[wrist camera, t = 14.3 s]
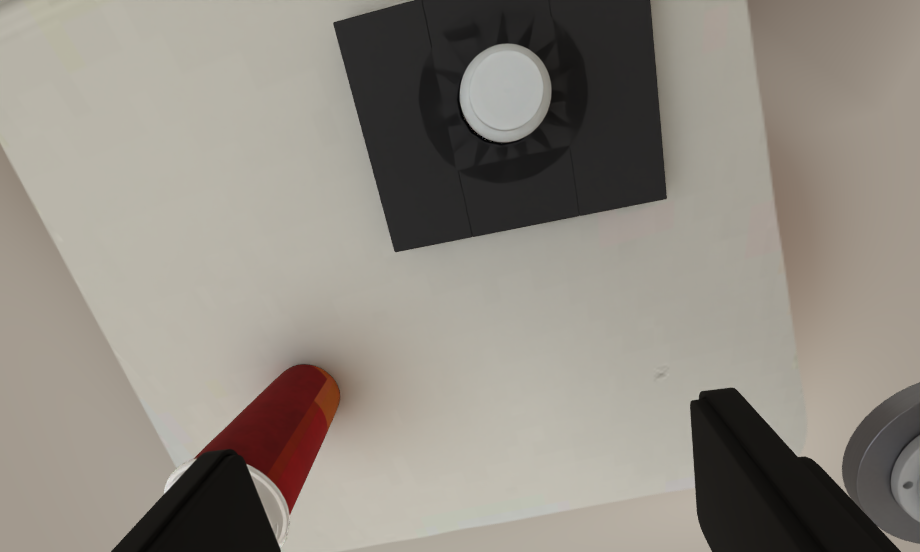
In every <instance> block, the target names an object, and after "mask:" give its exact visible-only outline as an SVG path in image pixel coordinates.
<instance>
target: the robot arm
mask: <svg viewBox="0 0 920 552" xmlns="http://www.w3.org/2000/svg"><path fill="white" fill-rule="evenodd" d="M690 411H691V427H692V442H693V458H694V473H695V489H696V504H697V515H698V520H699V523H700V527H701V529H702V532H703V534H704V536H705V538H706V540H707V542H708V544H709V546H710V548H711V550H712V552H901V551H900V550H899V549H898V548H897V547H896V546H895V545H894V544H893V543H892V542H891V541H890V540H889V539H888V538H887V536H886V535H885V534H884V533H883V532H882V531H881V530H880V529H879V528H878V527H877V526H876V525H875V524H874V523H873V522H872V520H871V519H870V518H869V517H868V516H867V515H866V514H865V513H864V512H863V511H862V510H861V509H860V508H859V507H858V506H857V505H856V504H855V503H854V501H853V500H852V499H851V498H850V497H849V496H848V495H847V494H846V493H845V492H844V491H843V490H842V489H841V488H840V487H839V486H838V485H837V484H836V483H835V481H834V480H833V479H832V478H831V477H830V476H829V475H828V474H827V473H826V472H825V471H824V470H823V469H822V468H821V467H820V466H819V465H818V464H817V463H816V462H815V461H813V460H812V459H810V458H808V457H797V456H796V455H795V454H794V452H793V451H792V450H791V449H790V448H789V447H788V446H787V445H786V444H785V443H784V441H783V440H782V439H781V438H780V437H779V436H778V435H777V434H776V433H775V431H774V430H773V429H772V428H771V427H770V426H769V425H768V424H767V423H766V422H765V420H764V419H763V418H762V417H761V416H760V415H759V414H758V413H757V412H756V410H755V409H754V408H753V407H752V406H751V405H750V404H749V403H748V402H747V401H746V399H745V398H744V397H743V396H742V395H741V394H740V393H739V392H738V391H737V390H736V389H735V388H725V389H717V390H708V391H702V392H700V395H699V400H692V401H691V404H690ZM891 489H892V493H893V495H894V498H895V500H896V501H897V503H898V504H899V505H900V507H901V508H902V509H903V510H904V511H906V512H907V513H908V514H909V515H910V516H911V517H912V518H913V519H915V520H917V521H918V522H920V435H918V436H917V437H916V438H915V439H913V440H912V441H911V442H910V443H909V444H908V445H907V446H906V447H905V449H904V450H903V451H902V452H901V454H900V455H899V457H898V459H897V460H896V462H895V465H894V468H893V470H892V475H891ZM111 552H281V550H280V547H279V544H278V542H277V539H276V537H275V534H274V532H273V529H272V527H271V524H270V522H269V519H268V517H267V514H266V512H265V509H264V507H263V504H262V502H261V499H260V497H259V494H258V492H257V489H256V487H255V484H254V482H253V480H252V477H251V475H250V472H249V470H248V467H247V465H246V462H245V460H244V458H243V457H242V456H241V455H238V454H237V452H236V451H234V450H233V449H224V450H216V451H208V452H205V453H203V454H201V455H200V456H199V457H198V458H197V459H196V460H195V461H194V462H193V463H192V465H191V466H190V467H189V468H188V469H187V470H186V471H185V472H184V473H183V474H182V475H181V476H180V478H179V479H178V480H177V481H176V482H175V483H174V484H173V485H172V486H171V487H170V488H169V489H168V491H167V492H166V493H165V494H164V495H163V496H162V497H161V498H160V499H159V500H158V502H156V504H155V505H154V506H153V507H152V508H151V509H150V510H149V511H148V512H147V513H146V514H145V515H144V517H143V518H142V519H141V520H140V521H139V522H138V523H137V524H136V526H134V528H132V530H131V531H130V532H129V533H128V534H127V535H126V536H125V537H124V538H123V539H122V540H121V542H120V543H119V544H118V545H117V546H116V547H115V548H114V549H113V550H112V551H111Z"/></svg>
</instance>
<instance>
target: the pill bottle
mask: <svg viewBox="0 0 920 552" xmlns="http://www.w3.org/2000/svg"><path fill="white" fill-rule="evenodd" d="M550 101H551V81H550V77H549V74H548V71H547V69H546V67H545V65H544V64H543V62H542V61H541V60H540V58H539V57H538V56H537V55H536V54H534V53H533V52H532V51H530V50H529V49H527V48H525V47H523V46H520V45H516V44H499V45H495V46H492V47H490V48H488V49H486V50H484V51H483V52H481V53H480V54H478V55H477V56H476V57H475V58H474V59H473V60H472V61H471V63H470V64H469V65H468V67H467V69H466V71H465V73H464V75H463V78H462V81H461V86H460V103H461V108H462V111H463V114H464V116H465V118H466V120H467V122H468V123H469V125H470V126H471V127H472V128H473V129H474V130H475V132H477V133H478V134H479V135H481V136H483V137H484V138H486V139H489V140H492V141H496V142H512V141H516V140H519V139H521V138H524V137H525V136H527V135H529V134H530V133H532V132H533V131H534V130H535V129H536V128H537V127H538V126H539V125H540V123H541V122H542V121H543V119H544V117H545V116H546V114H547V111H548V108H549V105H550Z"/></svg>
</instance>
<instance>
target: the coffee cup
mask: <svg viewBox="0 0 920 552" xmlns="http://www.w3.org/2000/svg"><path fill="white" fill-rule="evenodd" d="M339 400H340V392H339V388H338V386H337V384H336V382H335V380H334V379H333V378H332V377H331V376H330V375H329V374H328V373H327V372H326V371H324V370H323V369H321V368H319V367H316V366H312V365H305V364H304V365H296V366H293V367H291V368H289V369H287V370H286V371H284V372H283V373H282V374H281V375H280V376H279V377H278V378H276V379H275V380H274V381H273V382H272V383H271V384H270V385H269V386H268V387H267V388H266V389H265V390H264V391H263V392H262V393H261V394H260V395H259V396H258V397H257V398H256V399H255V400H254V401H252V402H251V403H250V404H249V405H248V406H247V407H246V408H245V409H244V410H243V411H242V412H241V413H240V414H239V415H238V416H237V417H236V418H235V419H234V420H233V421H232V422H231V423H230V424H229V425H228V426H227V427H226V428H225V429H224V430H223V431H222V432H220V433H219V434H218V435H217V436H216V437H215V438H214V439H213V440H212V441H211V442H210V443H209V444H208V445H207V446H206V447H205V448H204V449H203V450H202V451H201V452H200V453H199V454H198V455H197V456H196V457H195V458H194V459H192V460H190V461H188V462H186V463H183V464H182V465H181V466H179V467H178V468H177V469H176V470H175V471H174V472H173V473H172V474H171V475H170V477H169V479H168V480H167V483H166V486H165V489H164V494H165V493H166V492H167V491H168V489H169V488H170V487H171V486H172V485H173V484H174V483H175V482H176V481H177V480H178V479H179V478H180V476H181V475H182V474H183V473H184V472H185V471H186V470H187V469H188V468H189V467H190V466H191V465H192V463H193V462H194V461H195V460H196V459H197V458H198V457H199V456H200V455H201V454H203V453H205V452H208V451H216V450H224V449H233V450H234V451H236V452H237V454H238V455H241V456H242V457H243V458H244V460H245V462H246V465H247V467H248V470H249V472H250V475H251V477H252V480H253V482H254V484H255V487H256V489H257V492H258V494H259V497H260V499H261V502H262V504H263V507H264V509H265V512H266V514H267V517H268V519H269V522H270V524H271V527H272V529H273V532H274V534H275V537H276V539H277V542H278V544H279V547H281V546H282V545H283V544H284V542H285V541H286V539H287V534H288V529H289V524H290V513H291V511H292V509H293V507H294V505H295V502H296V500H297V498H298V496H299V494H300V491H301V489H302V487H303V485H304V482H305V480H306V478H307V476H308V474H309V471H310V469H311V467H312V465H313V463H314V460H315V458H316V456H317V454H318V451H319V449H320V447H321V445H322V443H323V440H324V438H325V436H326V434H327V431H328V429H329V427H330V424H331V422H332V420H333V417H334V415H335V413H336V410H337V407H338V405H339Z"/></svg>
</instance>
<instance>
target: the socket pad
mask: <svg viewBox="0 0 920 552" xmlns="http://www.w3.org/2000/svg"><path fill="white" fill-rule="evenodd" d="M333 24H334V28H335V32H336V35H337V39H338V43H339V46H340V50H341V54H342V58H343V61H344V65H345V69H346V73H347V76H348V80H349V84H350V87H351V91H352V95H353V99H354V102H355V106H356V110H357V113H358V117H359V121H360V125H361V128H362V132H363V136H364V139H365V143H366V147H367V151H368V154H369V158H370V162H371V165H372V169H373V173H374V177H375V180H376V184H377V188H378V191H379V195H380V199H381V203H382V206H383V210H384V214H385V217H386V221H387V225H388V229H389V232H390V236H391V240H392V243H393V247H394V251H395V252H399V251H404V250H409V249H414V248H419V247H424V246H429V245H434V244H439V243H445V242H450V241H455V240H460V239H465V238H470V237H472V236H473V237H475V236H480V235H485V234H490V233H495V232H501V231H506V230H511V229H516V228H521V227H526V226H531V225H536V224H541V223H546V222H551V221H556V220H561V219H566V218H572V217H577V216H579V215H580V216H582V215H587V214H592V213H597V212H602V211H607V210H612V209H617V208H622V207H627V206H633V205H638V204H643V203H648V202H653V201H658V200H663V199H667V195H666V183H665V171H664V159H663V148H662V136H661V124H660V112H659V100H658V88H657V76H656V64H655V53H654V41H653V29H652V17H651V5H650V0H414V1H410V2H406V3H403V4H399V5H395V6H392V7H388V8H385V9H381V10H377V11H374V12H370V13H366V14H363V15H359V16H355V17H352V18H348V19H344V20H341V21H337V22H334V23H333ZM499 44H516V45H520V46H523V47H525V48H527V49H529V50H530V51H532V52H533V53H534V54H536V55H537V56H538V57H539V58H540V60H541V61H542V62H543V64H544V65H545V67H546V69H547V71H548V74H549V77H550V81H551V101H550V105H549V108H548V111H547V114H546V116H545V117H544V119H543V121H542V122H541V123H540V125H539V126H538V127H537V128H536V129H535V130H534V131H533V132H532V133H530V134H529V135H527V136H525V137H524V138H521V139H519V140H517V141H512V142H508V143H503V144H500V143H494V142H489V141H485V140H484V139H482V138H481V137H479V136H478V135H476V134H475V133H473V132H472V131H471V129H470V128H469V126H468V124H467V123H466V121H465V120H464V118H463V115H462V110H461V105H460V86H461V81H462V78H463V75H464V73H465V71H466V69H467V67H468V65H469V64H470V63H471V61H472V60H473V59H474V58H475V57H476V56H477V55H478V54H480V53H481V52H483V51H484V50H486V49H488V48H490V47H492V46H495V45H499Z"/></svg>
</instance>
